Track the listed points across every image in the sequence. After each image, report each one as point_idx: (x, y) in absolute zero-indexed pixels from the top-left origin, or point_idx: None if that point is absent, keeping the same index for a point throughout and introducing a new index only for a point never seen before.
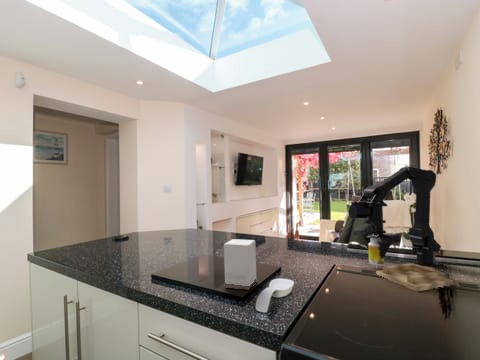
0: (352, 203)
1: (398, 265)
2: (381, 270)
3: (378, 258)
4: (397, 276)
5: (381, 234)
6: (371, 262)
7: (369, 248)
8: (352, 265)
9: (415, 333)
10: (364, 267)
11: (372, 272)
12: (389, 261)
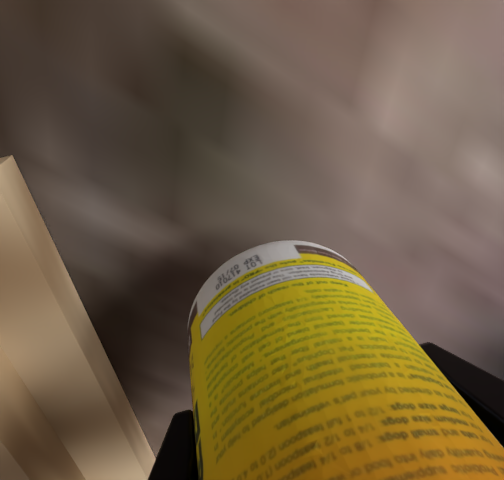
0: None
1: (2, 478)
2: (22, 253)
3: (196, 372)
4: None
5: None
6: (258, 253)
7: (395, 419)
8: (438, 49)
9: None
10: (324, 166)
11: (124, 160)
12: None
